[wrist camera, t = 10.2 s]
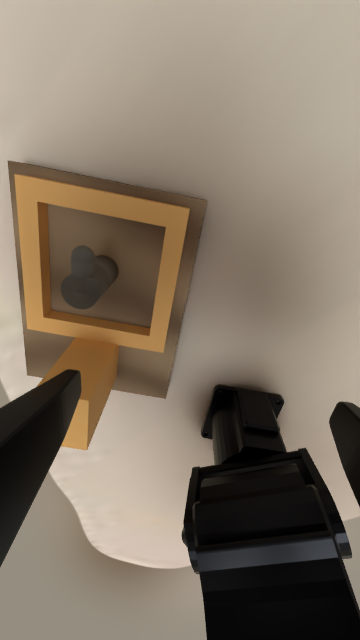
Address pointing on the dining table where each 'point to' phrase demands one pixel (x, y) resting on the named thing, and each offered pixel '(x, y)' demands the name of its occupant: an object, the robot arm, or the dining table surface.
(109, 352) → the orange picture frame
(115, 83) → the dining table surface
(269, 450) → the robot arm
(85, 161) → the dining table surface
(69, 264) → the hook plate
